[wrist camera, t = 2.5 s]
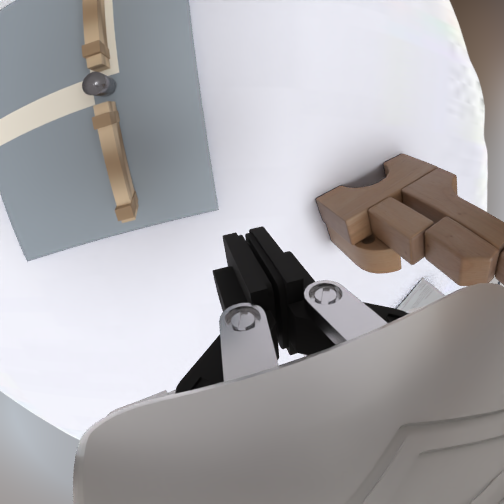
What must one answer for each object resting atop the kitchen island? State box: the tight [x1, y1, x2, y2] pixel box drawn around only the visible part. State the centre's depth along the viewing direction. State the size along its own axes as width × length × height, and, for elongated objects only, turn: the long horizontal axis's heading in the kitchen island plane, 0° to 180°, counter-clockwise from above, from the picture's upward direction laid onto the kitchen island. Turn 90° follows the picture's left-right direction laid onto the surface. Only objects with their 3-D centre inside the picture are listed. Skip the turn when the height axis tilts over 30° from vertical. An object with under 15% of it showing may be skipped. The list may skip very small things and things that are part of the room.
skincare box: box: [397, 278, 445, 313], centre depth 41 cm, size 8×6×15 cm
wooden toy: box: [316, 154, 504, 286], centre depth 23 cm, size 15×7×25 cm, turn 114°
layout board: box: [0, 0, 219, 262], centre depth 19 cm, size 28×22×1 cm
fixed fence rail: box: [82, 0, 110, 72], centre depth 14 cm, size 10×1×4 cm, turn 6°
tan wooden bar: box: [92, 101, 139, 223], centre depth 21 cm, size 10×1×4 cm, turn 6°
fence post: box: [82, 72, 117, 97], centre depth 18 cm, size 2×2×6 cm
